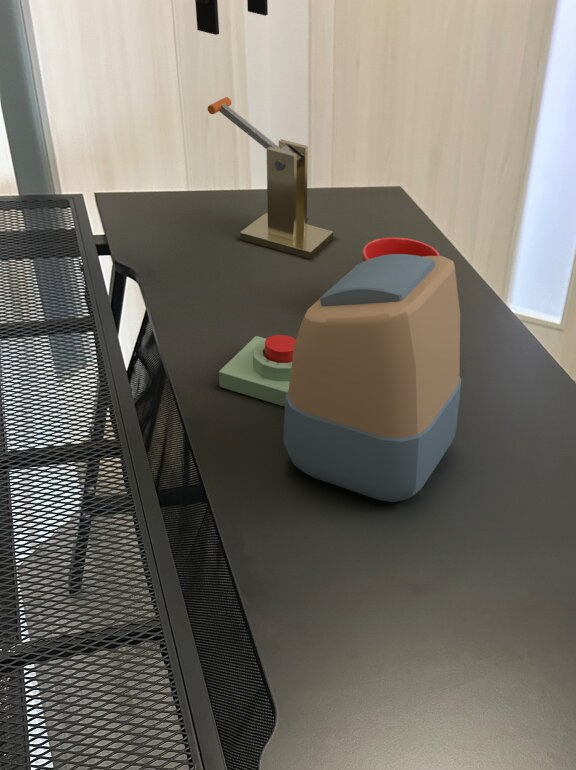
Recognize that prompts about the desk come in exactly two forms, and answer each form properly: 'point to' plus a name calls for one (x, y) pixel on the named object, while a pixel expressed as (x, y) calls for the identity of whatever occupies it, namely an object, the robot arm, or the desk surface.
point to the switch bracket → (287, 206)
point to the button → (279, 348)
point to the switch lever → (244, 124)
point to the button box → (256, 374)
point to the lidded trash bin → (377, 377)
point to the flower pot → (397, 248)
